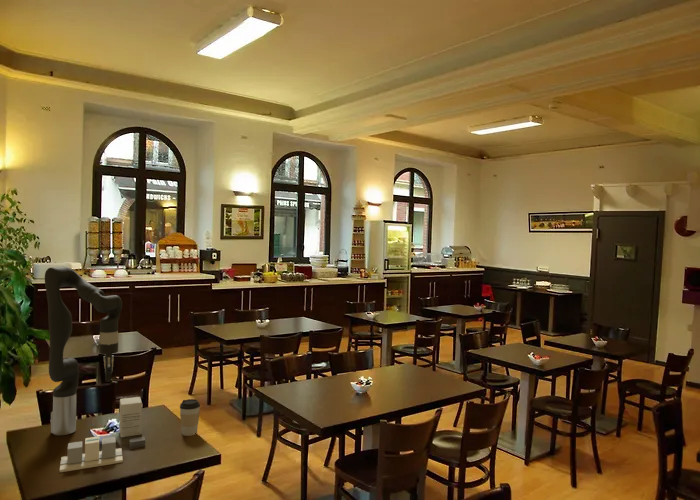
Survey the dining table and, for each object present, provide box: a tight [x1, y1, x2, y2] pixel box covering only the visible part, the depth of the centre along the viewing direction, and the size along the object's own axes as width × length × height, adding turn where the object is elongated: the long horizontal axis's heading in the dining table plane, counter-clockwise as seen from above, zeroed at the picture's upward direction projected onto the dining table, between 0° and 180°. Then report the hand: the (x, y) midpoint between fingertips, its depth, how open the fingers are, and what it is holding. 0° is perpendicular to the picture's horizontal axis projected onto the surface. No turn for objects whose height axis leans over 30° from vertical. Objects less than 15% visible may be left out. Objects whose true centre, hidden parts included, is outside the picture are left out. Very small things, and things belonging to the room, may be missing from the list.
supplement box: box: [119, 396, 143, 438], centre depth 232 cm, size 9×9×15 cm
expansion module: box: [84, 436, 100, 461], centre depth 203 cm, size 5×6×7 cm
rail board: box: [59, 436, 124, 473], centre depth 203 cm, size 22×12×7 cm, turn 116°
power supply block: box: [128, 436, 146, 450], centre depth 219 cm, size 6×4×3 cm, turn 118°
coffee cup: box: [179, 398, 201, 437], centre depth 234 cm, size 9×9×15 cm
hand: (108, 381), depth 220 cm, fingers closed
